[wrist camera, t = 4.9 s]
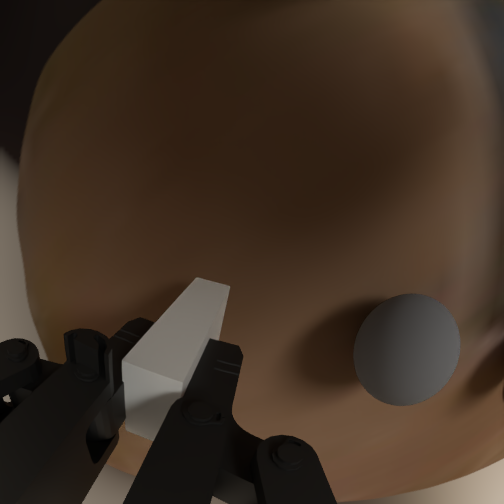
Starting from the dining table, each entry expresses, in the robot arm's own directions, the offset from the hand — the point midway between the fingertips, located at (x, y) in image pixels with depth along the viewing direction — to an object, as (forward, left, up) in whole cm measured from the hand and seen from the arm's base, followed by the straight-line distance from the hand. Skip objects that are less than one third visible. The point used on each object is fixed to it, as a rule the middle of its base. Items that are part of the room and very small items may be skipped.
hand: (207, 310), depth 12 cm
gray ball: (+9, +3, 0) cm, 10 cm away
